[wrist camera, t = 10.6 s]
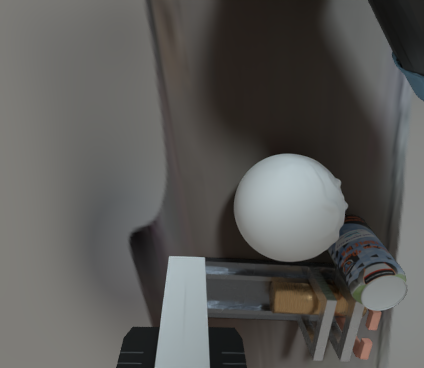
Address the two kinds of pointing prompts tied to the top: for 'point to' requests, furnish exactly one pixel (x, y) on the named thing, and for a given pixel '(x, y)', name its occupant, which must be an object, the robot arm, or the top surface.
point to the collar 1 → (318, 336)
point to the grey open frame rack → (253, 286)
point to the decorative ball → (289, 207)
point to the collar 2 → (355, 310)
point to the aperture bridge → (365, 345)
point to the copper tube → (302, 299)
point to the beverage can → (367, 266)
